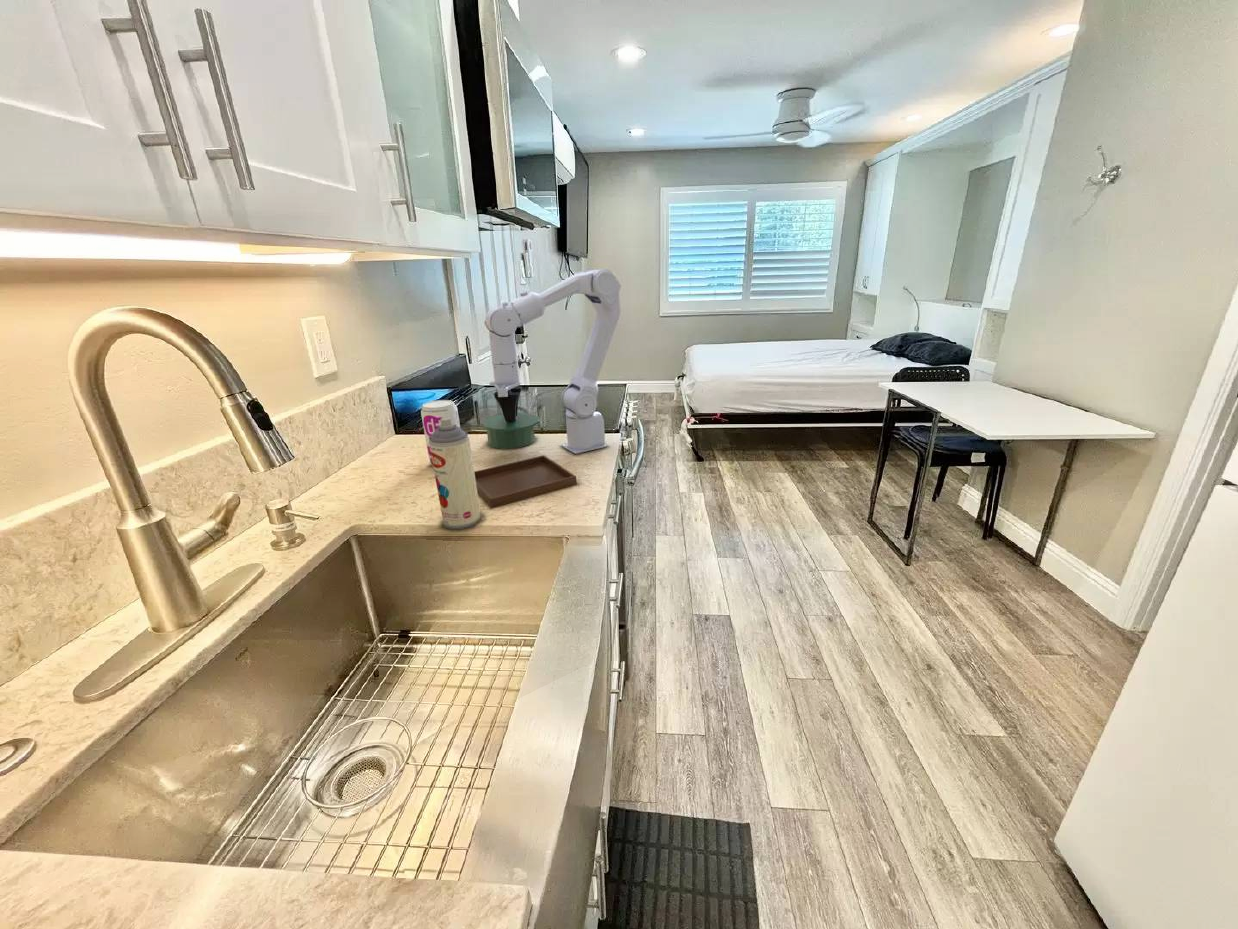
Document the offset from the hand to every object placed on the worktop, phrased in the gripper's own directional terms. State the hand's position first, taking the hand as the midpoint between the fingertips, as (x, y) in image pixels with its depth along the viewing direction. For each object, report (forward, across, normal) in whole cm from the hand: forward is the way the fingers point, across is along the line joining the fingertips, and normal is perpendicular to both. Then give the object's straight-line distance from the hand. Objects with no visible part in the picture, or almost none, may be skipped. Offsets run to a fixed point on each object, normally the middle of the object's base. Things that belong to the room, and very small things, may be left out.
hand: (511, 419), depth 118 cm
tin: (+10, -14, -3) cm, 18 cm away
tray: (+10, +14, +3) cm, 18 cm away
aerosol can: (+11, +31, -5) cm, 33 cm away
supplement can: (+11, +1, -16) cm, 20 cm away
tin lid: (+1, 0, 0) cm, 1 cm away
